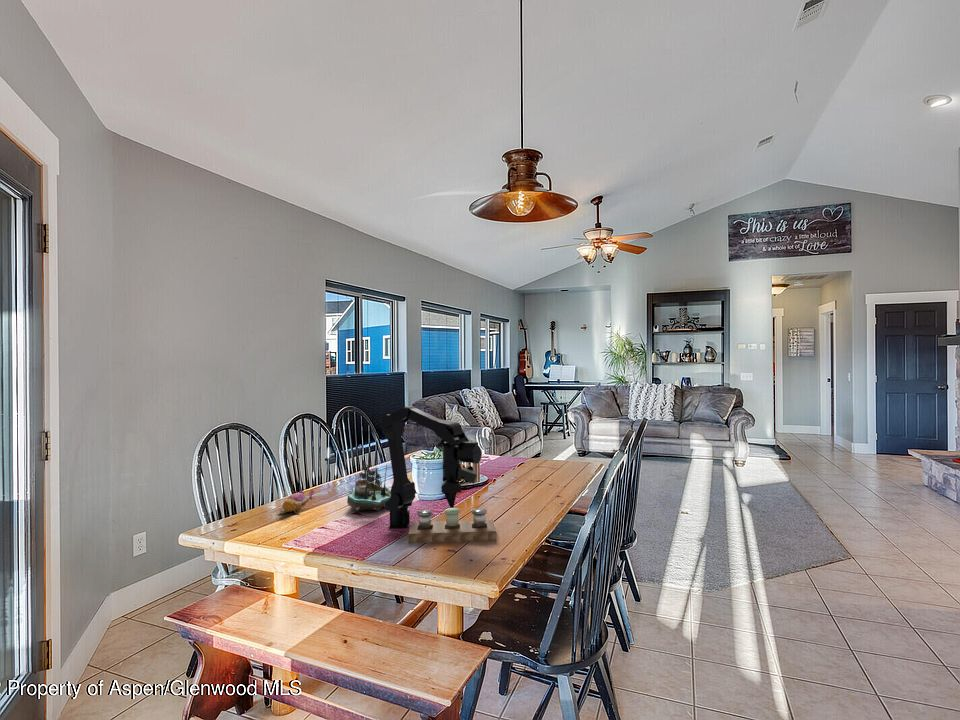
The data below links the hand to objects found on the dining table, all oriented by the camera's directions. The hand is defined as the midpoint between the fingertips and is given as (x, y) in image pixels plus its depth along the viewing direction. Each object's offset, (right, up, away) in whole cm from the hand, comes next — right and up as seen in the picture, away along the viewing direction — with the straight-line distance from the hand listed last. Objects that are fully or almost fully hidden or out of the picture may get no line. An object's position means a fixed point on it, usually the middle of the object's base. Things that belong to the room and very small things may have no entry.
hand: (451, 507), depth 176 cm
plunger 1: (-9, -6, 0) cm, 11 cm away
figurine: (-65, -11, +38) cm, 76 cm away
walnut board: (0, -9, 0) cm, 9 cm away
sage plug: (0, -6, 0) cm, 6 cm away
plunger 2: (+9, -6, 0) cm, 11 cm away
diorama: (-33, -10, +37) cm, 51 cm away
